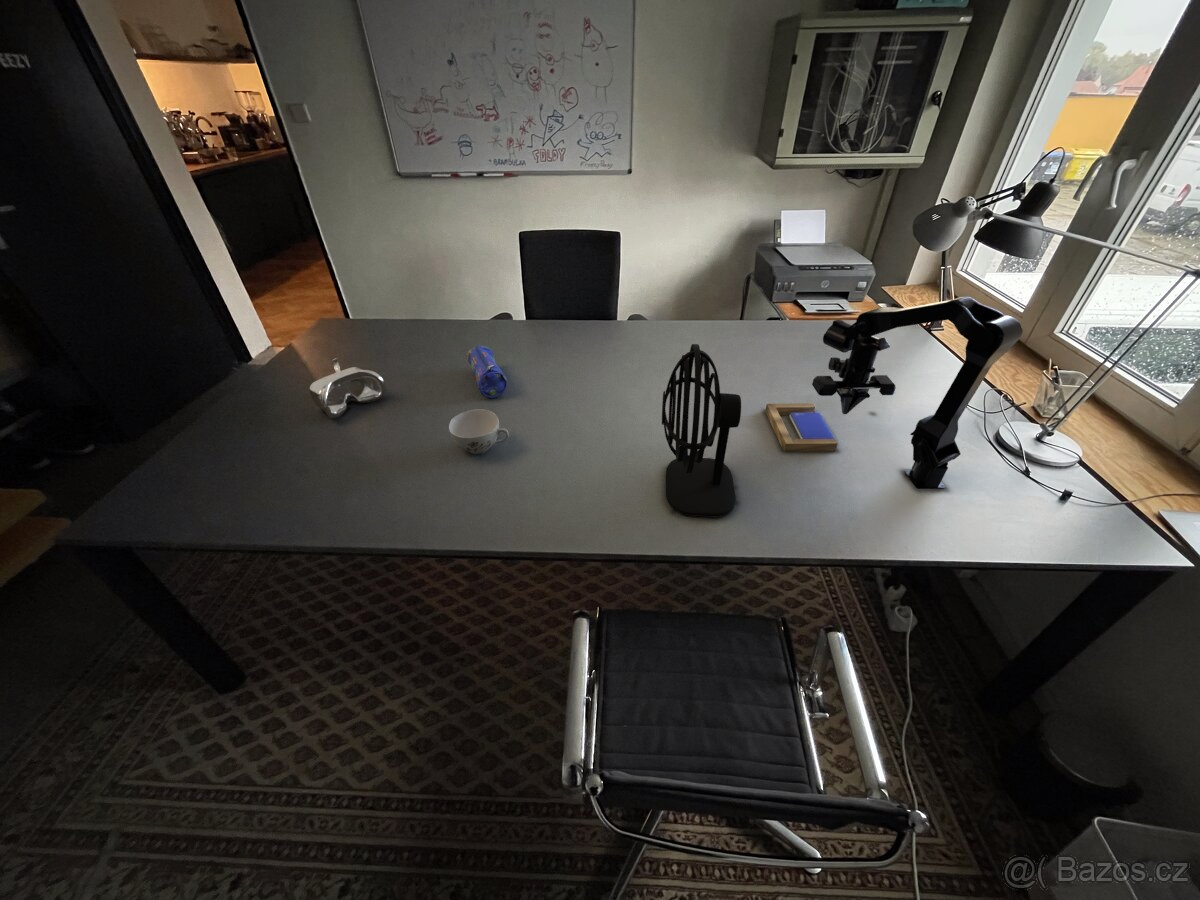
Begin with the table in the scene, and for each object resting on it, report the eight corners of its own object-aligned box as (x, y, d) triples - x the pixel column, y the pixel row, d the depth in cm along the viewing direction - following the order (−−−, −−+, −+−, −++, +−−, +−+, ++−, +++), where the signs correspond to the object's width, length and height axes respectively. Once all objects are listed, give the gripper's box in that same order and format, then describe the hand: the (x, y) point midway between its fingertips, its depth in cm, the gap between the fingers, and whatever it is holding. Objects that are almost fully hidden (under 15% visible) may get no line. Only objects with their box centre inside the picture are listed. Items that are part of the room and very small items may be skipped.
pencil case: (510, 397, 152) (506, 368, 146) (481, 403, 149) (476, 374, 143) (494, 365, 168) (490, 338, 162) (468, 370, 166) (463, 343, 160)
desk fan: (658, 450, 129) (666, 321, 108) (727, 454, 128) (749, 323, 106) (656, 526, 108) (666, 384, 87) (739, 532, 106) (770, 387, 85)
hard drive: (790, 412, 140) (803, 438, 130) (820, 412, 139) (835, 438, 129) (789, 417, 140) (802, 443, 131) (818, 417, 140) (834, 443, 130)
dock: (835, 451, 128) (837, 443, 126) (783, 451, 128) (785, 443, 127) (811, 410, 143) (813, 403, 141) (765, 411, 143) (766, 403, 142)
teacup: (446, 459, 128) (439, 434, 123) (465, 431, 137) (459, 407, 133) (502, 465, 125) (498, 439, 121) (518, 436, 135) (514, 411, 130)
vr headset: (332, 425, 141) (313, 380, 132) (313, 411, 147) (294, 367, 138) (390, 399, 152) (376, 355, 143) (371, 387, 158) (356, 344, 149)
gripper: (885, 344, 129) (867, 397, 139) (812, 345, 129) (799, 397, 139) (906, 365, 120) (885, 419, 130) (827, 366, 121) (812, 420, 130)
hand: (844, 413), depth 132 cm, fingers closed
